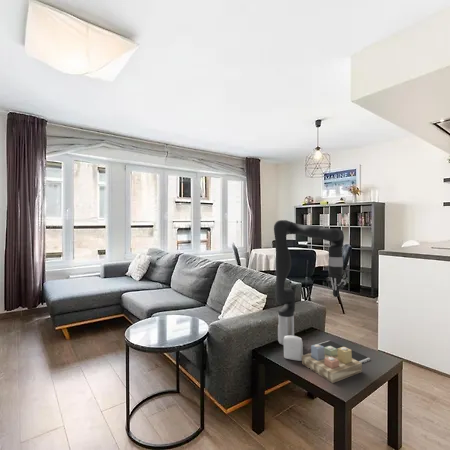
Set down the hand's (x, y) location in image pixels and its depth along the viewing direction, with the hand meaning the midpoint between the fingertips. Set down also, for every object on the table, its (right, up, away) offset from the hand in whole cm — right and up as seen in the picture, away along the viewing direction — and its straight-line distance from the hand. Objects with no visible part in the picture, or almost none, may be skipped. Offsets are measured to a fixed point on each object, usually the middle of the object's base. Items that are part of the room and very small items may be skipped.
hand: (336, 296), depth 156 cm
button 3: (-9, -32, -17) cm, 37 cm away
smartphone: (+5, -34, +5) cm, 34 cm away
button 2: (-5, -32, -5) cm, 33 cm away
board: (-7, -33, -11) cm, 36 cm away
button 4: (-1, -29, -13) cm, 32 cm away
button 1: (-13, -29, -9) cm, 33 cm away
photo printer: (-24, -34, -1) cm, 41 cm away
